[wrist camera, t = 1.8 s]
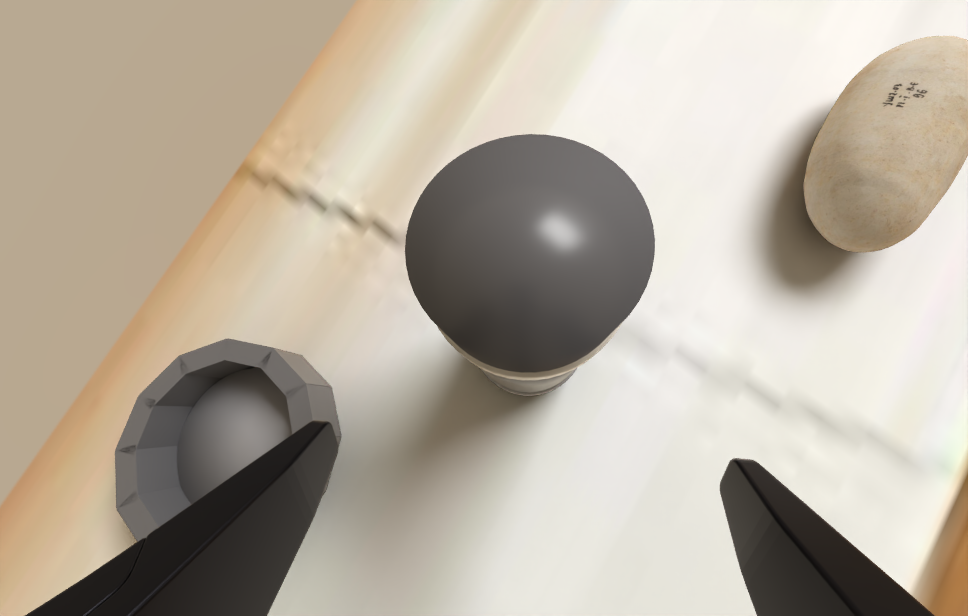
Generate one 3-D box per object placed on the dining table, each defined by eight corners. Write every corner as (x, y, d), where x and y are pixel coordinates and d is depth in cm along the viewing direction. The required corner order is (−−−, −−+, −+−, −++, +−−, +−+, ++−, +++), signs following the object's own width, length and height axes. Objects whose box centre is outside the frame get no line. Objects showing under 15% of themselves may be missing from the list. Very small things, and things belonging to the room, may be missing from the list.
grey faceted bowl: (302, 571, 19) (266, 596, 16) (133, 518, 20) (75, 533, 18) (361, 367, 21) (337, 360, 18) (205, 335, 23) (164, 325, 20)
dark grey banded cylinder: (570, 406, 19) (646, 392, 7) (468, 386, 20) (371, 339, 8) (585, 306, 21) (670, 142, 8) (488, 291, 21) (433, 121, 9)
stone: (785, 229, 18) (879, -25, 17) (767, 258, 23) (838, 66, 23) (963, 255, 15) (1087, -51, 14) (896, 282, 20) (982, 61, 20)
